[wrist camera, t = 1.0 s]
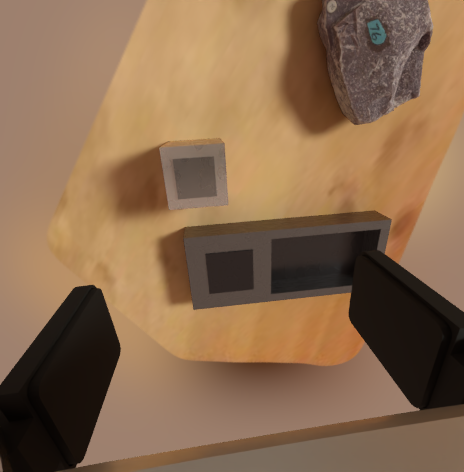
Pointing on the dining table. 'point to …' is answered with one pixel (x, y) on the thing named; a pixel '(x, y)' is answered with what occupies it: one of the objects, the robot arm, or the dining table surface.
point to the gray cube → (194, 173)
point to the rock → (374, 53)
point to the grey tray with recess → (279, 257)
